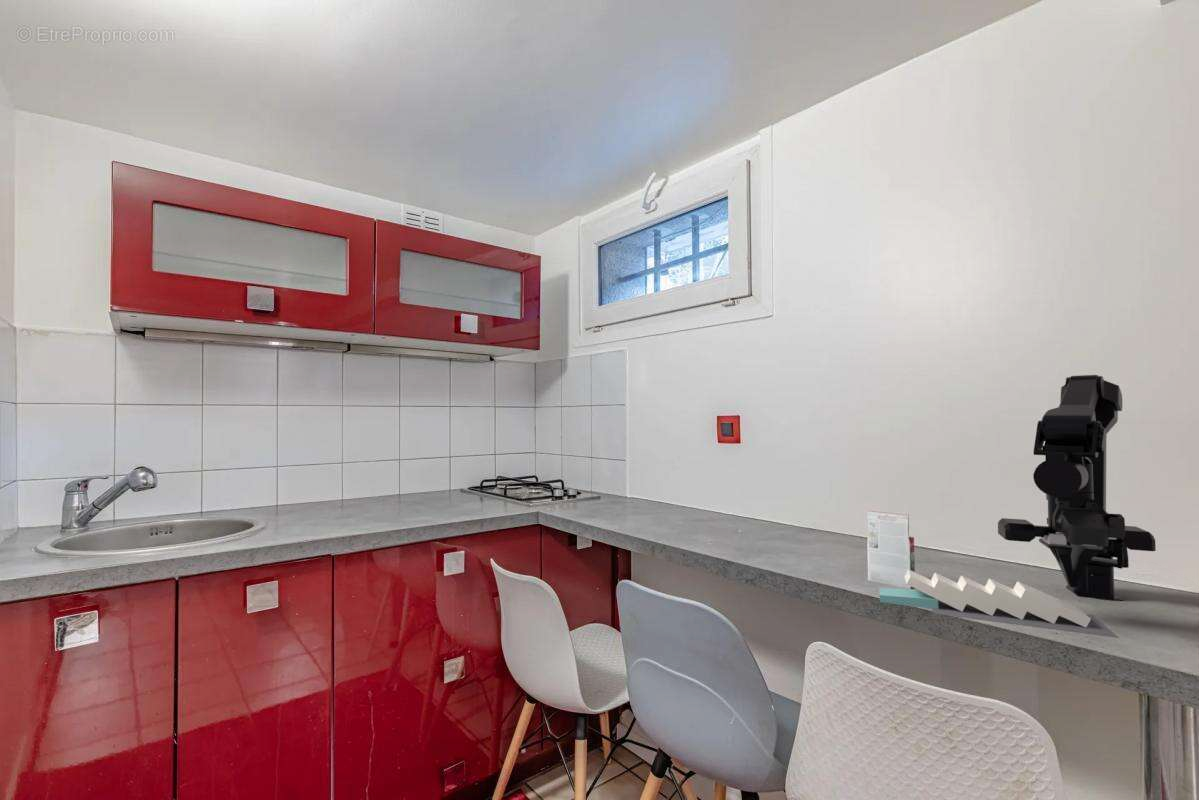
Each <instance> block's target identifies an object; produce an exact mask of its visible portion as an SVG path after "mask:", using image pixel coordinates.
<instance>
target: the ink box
mask: <svg viewBox="0 0 1199 800" xmlns="http://www.w3.org/2000/svg"><path fill="white" fill-rule="evenodd" d="M886 516H888V517H890V518H894V519H896V520H886V519H880V518H879V517H886ZM909 521H910V519H909V514H902V513H893V512H882V511H875V510H867V535H866V539H867V541H866V543H867V545H866V546H867V547H866V548H867V550H866V551H867V553H866V554H867V581H868V582H874V583H878V584H883V585H889V586H894V587H898V588H902V589H908V590H912V589H914V588H913V587H911V586H909V585H907V584H906V580H905V575H906V573H907V571H908V569H909V570H911V571H913V572H915V573H916V567H915V565H916V564H915V537H913V536H910V530H909V529H910V528H909V527H910V525H909Z"/></svg>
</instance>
